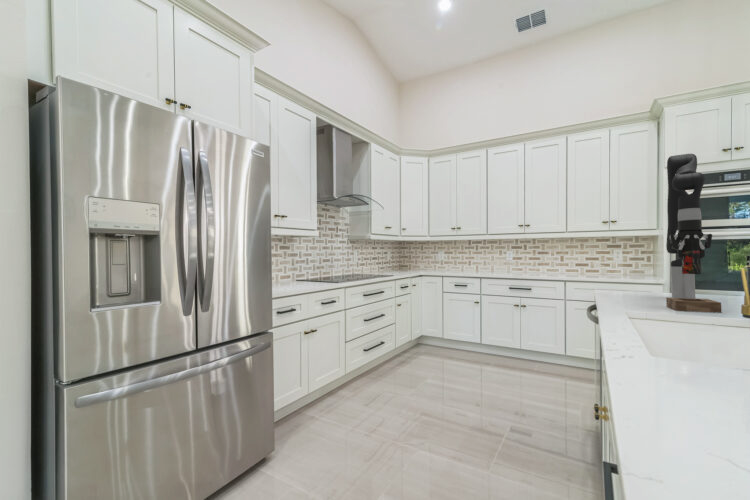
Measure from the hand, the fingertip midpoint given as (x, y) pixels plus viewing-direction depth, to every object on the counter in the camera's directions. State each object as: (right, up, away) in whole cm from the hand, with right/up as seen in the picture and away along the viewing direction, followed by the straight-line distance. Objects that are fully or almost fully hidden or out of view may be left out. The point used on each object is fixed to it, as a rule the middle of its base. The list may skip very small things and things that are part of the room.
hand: (690, 258), depth 148 cm
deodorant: (0, -7, 0) cm, 7 cm away
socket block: (0, -22, -1) cm, 22 cm away
